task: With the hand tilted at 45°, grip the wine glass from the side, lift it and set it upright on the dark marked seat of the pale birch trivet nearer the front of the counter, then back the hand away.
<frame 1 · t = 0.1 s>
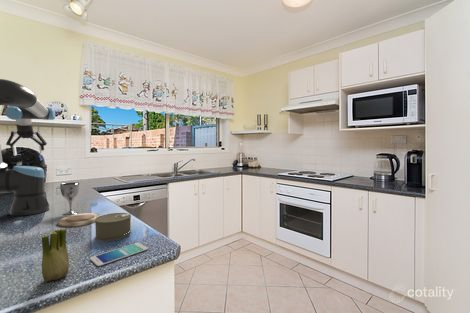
hand: (28, 155, 155), 28 cm above the countertop, tool tilted 20°, fingers open, 13 cm apart
smartphone: (120, 256, 71), on the countertop
trivet: (80, 220, 104), on the countertop
can: (113, 235, 87), on the countertop
wine glass: (70, 213, 116), on the countertop
fennel bulb: (55, 278, 58), on the countertop
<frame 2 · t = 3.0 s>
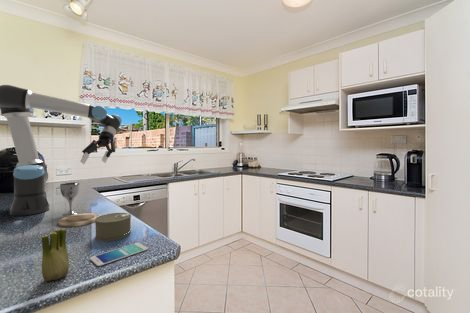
hand: (92, 162, 131), 25 cm above the countertop, tool tilted 40°, fingers open, 13 cm apart
nothing on the countertop moved.
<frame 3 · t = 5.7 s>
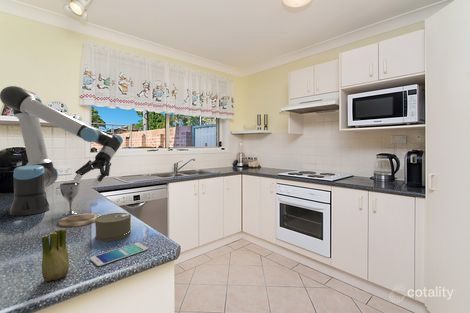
hand: (83, 185, 121), 13 cm above the countertop, tool tilted 45°, fingers open, 13 cm apart
nothing on the countertop moved.
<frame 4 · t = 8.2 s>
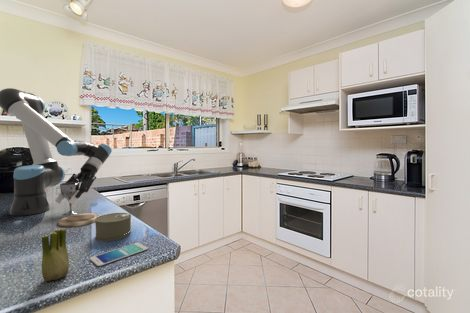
hand: (63, 202, 112), 6 cm above the countertop, tool tilted 45°, fingers closed on wine glass, 8 cm apart
wine glass: (70, 213, 116), on the countertop, touching gripper
everything else where it was.
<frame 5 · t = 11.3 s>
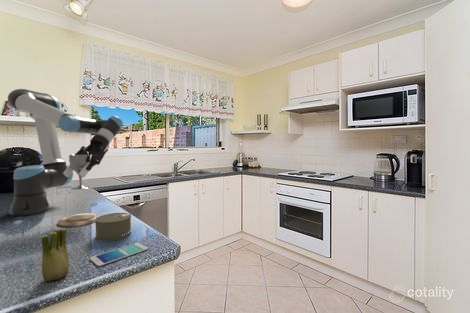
hand: (73, 175, 100), 21 cm above the countertop, tool tilted 45°, fingers closed on wine glass, 8 cm apart
wine glass: (80, 188, 104), point 14 cm above the countertop, touching gripper
everything else where it was.
when the fingers open (9 cm above the countertop, at t = 14.4 s): wine glass drops 1 cm, resting on trivet.
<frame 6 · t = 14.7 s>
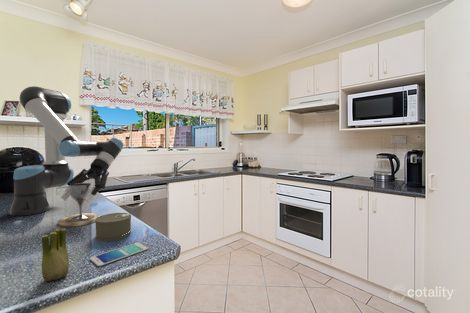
hand: (74, 199, 101), 10 cm above the countertop, tool tilted 45°, fingers open, 12 cm apart
wine glass: (80, 217, 104), point 1 cm above the countertop, touching trivet
everything else where it was.
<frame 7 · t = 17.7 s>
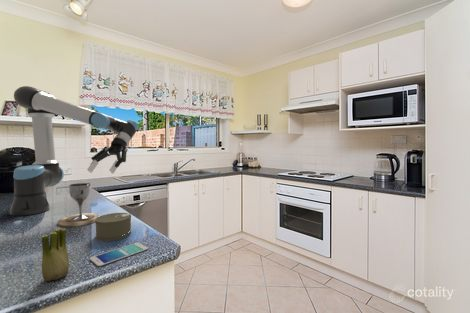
hand: (100, 171, 117), 21 cm above the countertop, tool tilted 45°, fingers open, 13 cm apart
nothing on the countertop moved.
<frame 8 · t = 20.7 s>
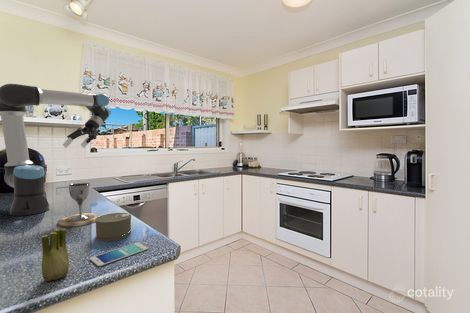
hand: (73, 146, 139), 34 cm above the countertop, tool tilted 45°, fingers open, 13 cm apart
nothing on the countertop moved.
at the end: wine glass inside the target area on the trivet (0.2 cm from its centre), point 1.2 cm above the trivet's base; wine glass tilted 0°; the gripper is holding nothing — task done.
